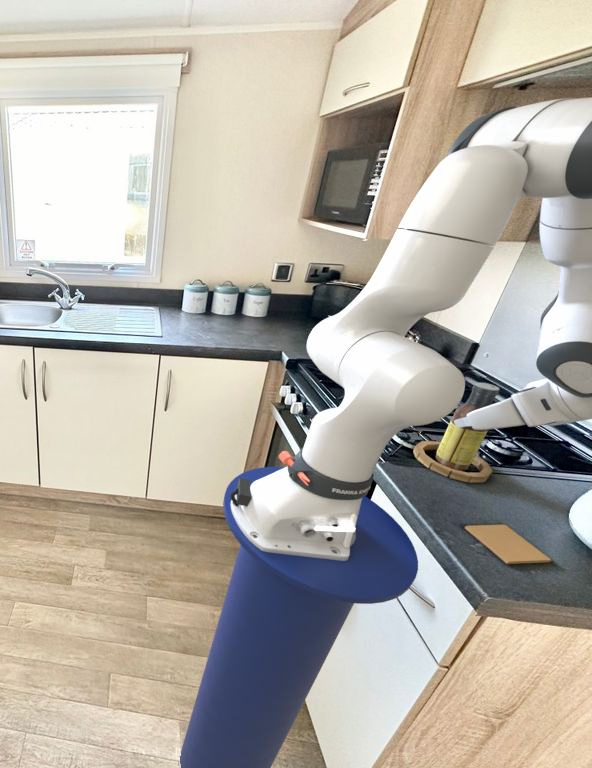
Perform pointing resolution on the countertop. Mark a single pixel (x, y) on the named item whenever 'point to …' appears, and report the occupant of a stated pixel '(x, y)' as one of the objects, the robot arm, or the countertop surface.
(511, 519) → the countertop surface
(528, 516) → the countertop surface
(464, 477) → the birch ring
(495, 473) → the countertop surface
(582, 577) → the countertop surface
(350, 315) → the robot arm
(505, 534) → the cork coaster
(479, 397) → the sauce bottle
